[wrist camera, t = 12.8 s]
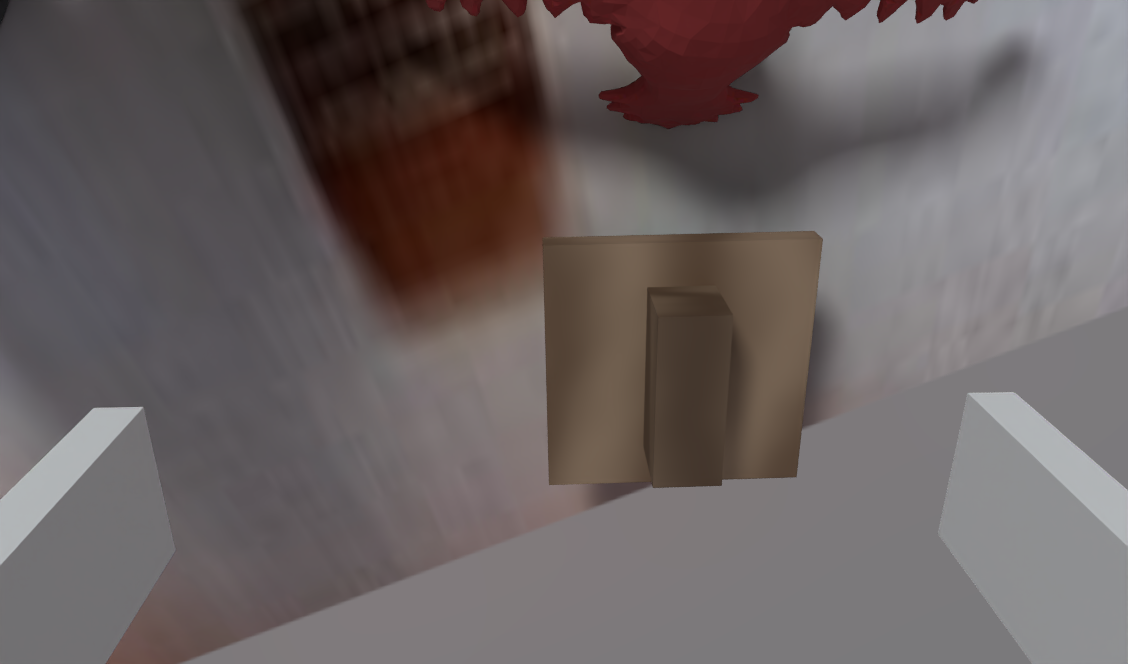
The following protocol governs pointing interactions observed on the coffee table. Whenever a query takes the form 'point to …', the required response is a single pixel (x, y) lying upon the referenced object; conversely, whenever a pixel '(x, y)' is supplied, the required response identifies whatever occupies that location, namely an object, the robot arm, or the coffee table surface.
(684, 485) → the walnut lid
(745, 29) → the decorative bird sculpture
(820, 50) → the coffee table surface
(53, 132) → the coffee table surface
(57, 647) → the robot arm
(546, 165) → the coffee table surface
